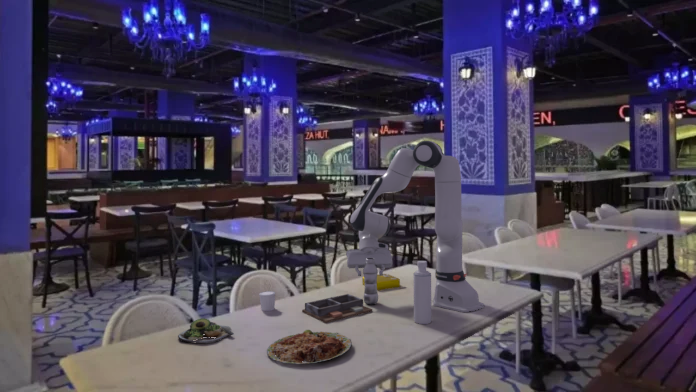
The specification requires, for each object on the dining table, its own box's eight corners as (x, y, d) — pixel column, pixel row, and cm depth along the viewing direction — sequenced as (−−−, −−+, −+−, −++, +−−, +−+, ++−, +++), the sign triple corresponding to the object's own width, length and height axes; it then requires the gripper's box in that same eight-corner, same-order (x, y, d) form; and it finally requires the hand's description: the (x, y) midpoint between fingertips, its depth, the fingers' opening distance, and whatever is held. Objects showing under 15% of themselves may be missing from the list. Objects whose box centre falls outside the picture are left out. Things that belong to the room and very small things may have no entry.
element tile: (361, 284, 243) (360, 275, 243) (386, 281, 249) (386, 272, 249) (374, 291, 229) (374, 281, 229) (401, 287, 236) (401, 278, 235)
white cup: (279, 307, 206) (278, 291, 205) (269, 312, 199) (269, 295, 199) (265, 306, 208) (265, 290, 208) (256, 310, 202) (255, 294, 202)
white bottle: (410, 320, 186) (410, 256, 184) (425, 317, 188) (425, 255, 187) (419, 325, 180) (418, 259, 178) (434, 322, 182) (434, 258, 180)
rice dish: (250, 364, 150) (249, 348, 150) (291, 332, 176) (290, 317, 175) (332, 377, 140) (331, 359, 140) (363, 340, 166) (362, 325, 165)
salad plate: (246, 331, 178) (245, 319, 178) (216, 348, 162) (215, 335, 161) (204, 325, 185) (203, 314, 185) (171, 341, 169) (170, 329, 169)
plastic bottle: (368, 306, 204) (367, 260, 203) (360, 302, 210) (360, 258, 209) (381, 304, 207) (380, 259, 206) (373, 300, 213) (372, 256, 212)
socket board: (372, 311, 197) (372, 302, 197) (325, 323, 184) (325, 313, 184) (347, 301, 212) (346, 292, 212) (302, 311, 199) (302, 302, 199)
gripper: (346, 245, 215) (346, 271, 206) (391, 244, 215) (393, 270, 206) (346, 253, 220) (346, 279, 211) (390, 252, 220) (392, 278, 211)
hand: (370, 275), depth 208 cm, fingers open, 8 cm apart
